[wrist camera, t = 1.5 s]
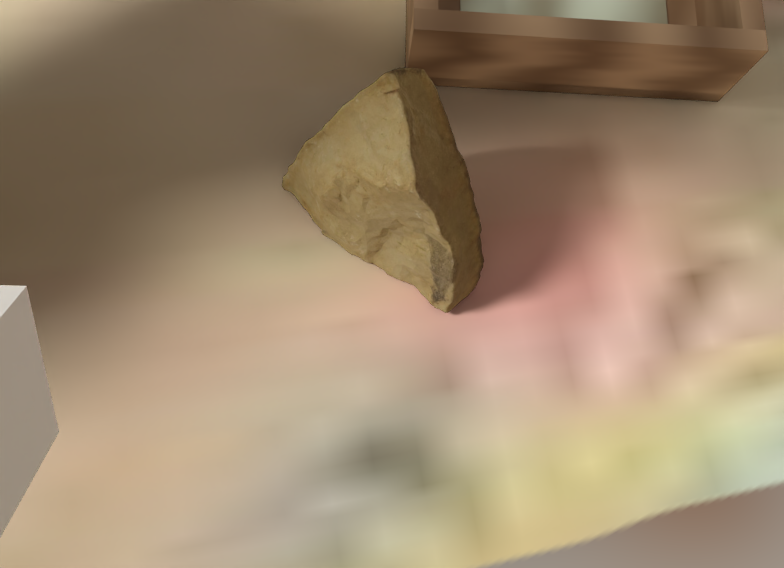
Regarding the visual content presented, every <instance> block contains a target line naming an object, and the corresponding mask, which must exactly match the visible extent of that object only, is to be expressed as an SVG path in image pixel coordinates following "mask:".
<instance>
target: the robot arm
mask: <svg viewBox="0 0 784 568" xmlns="http://www.w3.org/2000/svg"><path fill="white" fill-rule="evenodd" d="M58 433H59V429H58V424H57V420H56V415H55V411H54V406H53V402H52V397H51V393H50V388H49V384H48V379H47V375H46V370H45V366H44V361H43V357H42V352H41V348H40V344H39V339H38V335H37V330H36V326H35V321H34V317H33V312H32V308H31V303H30V299H29V294H28V290H27V286H13V285H0V537H1V535H2V534H3V532H4V530H5V528H6V526H7V525H8V523H9V521H10V519H11V517H12V516H13V514H14V512H15V510H16V508H17V507H18V505H19V503H20V501H21V499H22V498H23V496H24V494H25V492H26V490H27V489H28V487H29V485H30V483H31V481H32V480H33V478H34V476H35V474H36V472H37V471H38V469H39V467H40V465H41V463H42V461H43V460H44V458H45V456H46V454H47V452H48V451H49V449H50V447H51V445H52V443H53V442H54V440H55V438H56V436H57V434H58Z"/></svg>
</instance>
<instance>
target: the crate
mask: <svg viewBox="0 0 784 568" xmlns="http://www.w3.org/2000/svg"><path fill="white" fill-rule="evenodd" d="M767 52H768V43H767V36H766V29H765V21H764V14H763V7H762V0H406V48H405V68H418V69H423V70H425V72H426V74H427V75H428V77H429V78H430V79H431V80H432V82H433V84H434V85H436V86H454V87H472V88H489V89H507V90H525V91H542V92H560V93H577V94H595V95H613V96H630V97H648V98H666V99H683V100H701V101H719V100H720V99H721V98H722V97H723V96H724V95H725V94H726V93H727V92H728V91H729V90H730V89H731V88H732V87H733V86H734V85H735V84H736V83H737V82H738V81H739V80H740V79H741V78H742V77H743V76H744V75H745V74H746V73H747V72H748V71H749V70H750V69H751V68H752V67H753V66H754V65H755V64H756V63H757V62H758V61H759V60H760V59H761V58H762V57H763V56H764V55H765V54H766V53H767Z"/></svg>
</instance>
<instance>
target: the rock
mask: <svg viewBox="0 0 784 568" xmlns="http://www.w3.org/2000/svg"><path fill="white" fill-rule="evenodd" d="M282 187H283V188H284V189H285V190H287V191H289V192H291V193H292V194H294V195H295V197H296V198H297V199H298V201H299V202H300V203H301V205H302V206H303V207H304V208H305V209H306V210H307V211H308V212H309V214H310V216H311V218H312V220H313V221H314V222H315V223H316V224H317V225H318V226H319V227H320V228H321V229H322V234H323V235H325V236H327V237H329V238H330V239H332V240H334V241H335V242H337V243H338V244H339V245H341V246H342V247H343V248H344V249H345V250H346V251H347V252H349V253H350V254H352V255H356V256H358V257H359V258H361V259H362V260H363V261H365V262H367V263H373V264H375V265H376V266H378V267H379V268H381V269H383V270H384V271H385V272H386V273H387V274H388V275H390V276H392V277H394V278H396V279H398V280H401V281H405V282H407V283H409V284H412V285H414V286H415V287H416V288H417V289H418V290H419V291H420V293H421V294H422V295H423V296H424V297H425V298H427V300H428V301H429V302H430V304H432V305H433V306H434V307H435V308H437V309H440V310H442V311H443V312H445V313H447V312H449V311H450V310H451V309H453V308H454V307H455V306H456V305H457V304H458V303H459V302H460V301H462V300H463V299H464V298H465V297H467V296H468V295H469V294H470V293H471V291H472V290H473V289H474V288H475V286H476V285H477V282H478V280H479V278H480V271H481V269H482V267H483V262H484V259H483V255H482V250H481V240H480V233H481V224H480V218H479V215H478V213H477V209H476V207H475V203H474V194H473V191H472V188H471V186H470V178H469V175H468V171H467V167H466V164H465V161H464V159H463V158H462V156H461V154H460V153H459V151H458V150H457V147H456V143H455V139H454V136H453V133H452V131H451V128H450V125H449V122H448V118H447V116H446V113H445V111H444V108H443V106H442V103H441V101H440V98H439V95H438V91H437V88H436V87H435V85H434V84H433V82H432V80H431V79H430V78H429V77H428V75H427V74H426V72H425V70H423V69H418V68H398V69H394V70H392V71H389V72H387V73H384V74H383V75H382V76H380V77H379V78H378V79H377V80H376V81H375V82H374V83H373V84H371V85H370V86H368V87H367V88H365V89H363V90H362V91H360V92H358V94H357V95H356V96H355V98H353V99H352V100H350V101H349V102H347V103H346V104H344V105H343V106H342V108H341V109H339V110H338V112H337V113H336V114H335V115H334V117H333V118H332V119H331V120H330V121H329V122H327V123H326V124H325V125H324V127H323V129H322V130H321V131H319V132H318V133H317V134H316V135H315V136H314V137H312V138H310V139H309V140H307V141H306V142H305V144H304V145H303V147H302V148H301V150H300V151H299V153H298V155H297V157H296V160H295V161H294V163H293V164H291V165H290V166H289V167H288V172H287V174H286V175H284V177H283V182H282Z"/></svg>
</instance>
